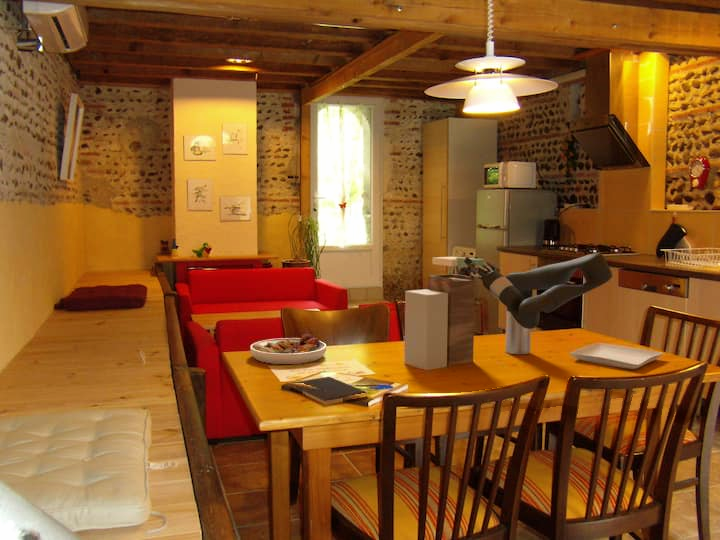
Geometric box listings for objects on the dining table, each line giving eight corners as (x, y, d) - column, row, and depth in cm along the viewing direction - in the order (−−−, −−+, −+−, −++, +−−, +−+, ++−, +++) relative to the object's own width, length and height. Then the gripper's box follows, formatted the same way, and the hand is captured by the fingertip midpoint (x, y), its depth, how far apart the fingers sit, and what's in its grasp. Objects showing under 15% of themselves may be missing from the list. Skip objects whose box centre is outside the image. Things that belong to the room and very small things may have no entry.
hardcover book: (324, 407, 207) (324, 399, 207) (289, 389, 226) (289, 383, 226) (368, 398, 216) (368, 391, 216) (330, 382, 235) (330, 376, 235)
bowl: (295, 370, 250) (295, 349, 249) (234, 360, 266) (234, 340, 265) (340, 355, 276) (340, 336, 275) (282, 346, 291) (282, 328, 291)
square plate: (568, 361, 268) (568, 351, 267) (597, 350, 288) (598, 341, 287) (637, 373, 249) (638, 363, 249) (664, 361, 269) (664, 351, 269)
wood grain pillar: (473, 362, 264) (475, 277, 261) (449, 366, 257) (450, 279, 254) (450, 355, 275) (452, 274, 272) (426, 359, 268) (428, 275, 265)
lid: (490, 267, 252) (490, 259, 252) (470, 268, 247) (470, 260, 247) (451, 262, 270) (451, 255, 269) (432, 263, 264) (432, 256, 264)
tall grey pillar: (446, 366, 257) (448, 293, 254) (426, 370, 251) (427, 295, 248) (424, 360, 267) (425, 289, 264) (404, 363, 261) (405, 291, 259)
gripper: (516, 276, 245) (487, 249, 256) (488, 278, 237) (459, 251, 248) (508, 292, 248) (480, 266, 260) (480, 295, 240) (452, 268, 252)
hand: (470, 258), depth 254 cm, fingers closed on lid, 4 cm apart
